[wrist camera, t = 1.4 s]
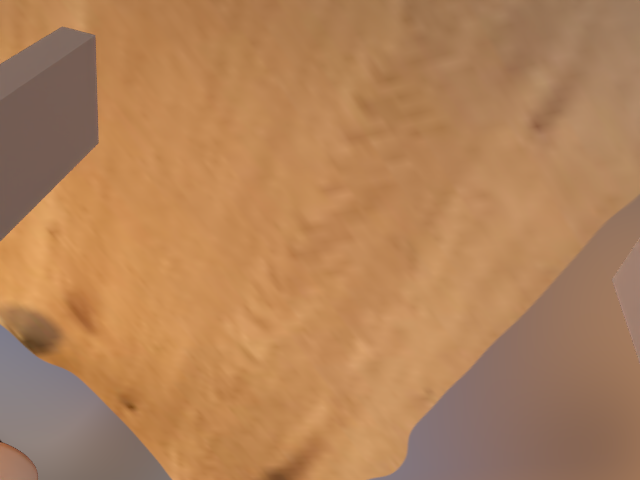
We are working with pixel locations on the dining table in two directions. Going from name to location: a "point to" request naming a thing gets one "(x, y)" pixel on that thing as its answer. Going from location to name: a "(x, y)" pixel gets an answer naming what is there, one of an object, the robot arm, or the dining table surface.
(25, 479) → the mug
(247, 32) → the dining table surface
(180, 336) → the dining table surface
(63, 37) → the robot arm
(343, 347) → the dining table surface
